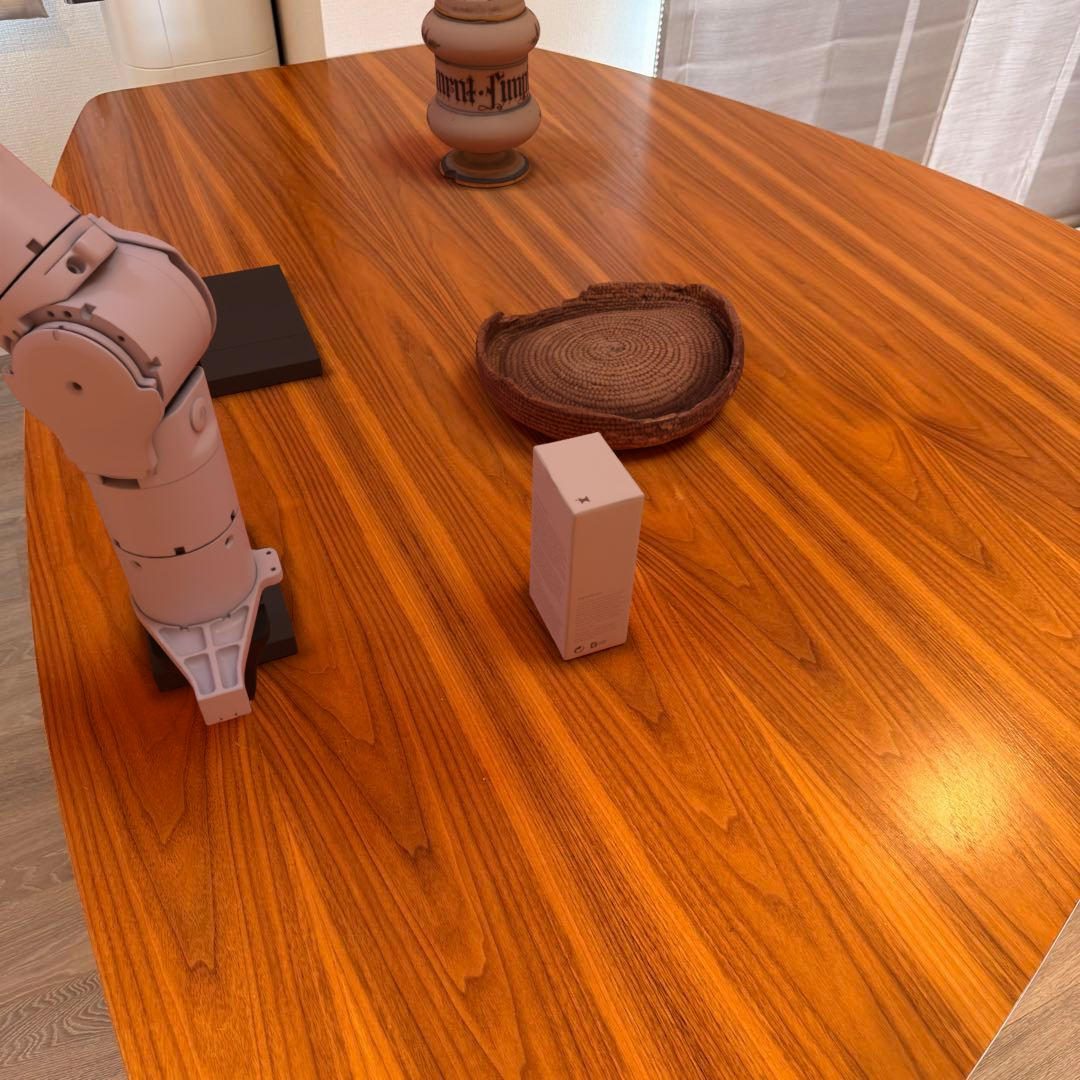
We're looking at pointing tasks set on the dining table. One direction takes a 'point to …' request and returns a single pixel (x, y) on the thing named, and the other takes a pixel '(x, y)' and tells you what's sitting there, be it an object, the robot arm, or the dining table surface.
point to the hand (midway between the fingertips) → (234, 695)
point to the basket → (616, 362)
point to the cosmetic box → (583, 543)
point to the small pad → (276, 647)
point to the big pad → (256, 333)
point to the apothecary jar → (482, 88)
